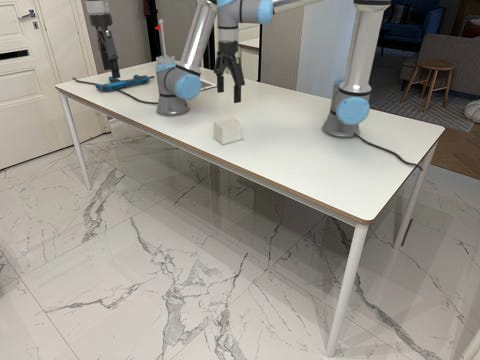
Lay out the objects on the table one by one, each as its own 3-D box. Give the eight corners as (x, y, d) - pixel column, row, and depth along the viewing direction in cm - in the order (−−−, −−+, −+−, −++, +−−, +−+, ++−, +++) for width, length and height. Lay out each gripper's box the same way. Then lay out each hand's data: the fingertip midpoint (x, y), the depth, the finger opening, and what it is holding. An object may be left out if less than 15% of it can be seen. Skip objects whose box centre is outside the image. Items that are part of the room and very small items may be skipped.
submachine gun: (140, 69, 223) (158, 75, 206) (141, 75, 225) (159, 81, 208) (87, 79, 204) (103, 87, 188) (89, 85, 206) (105, 94, 190)
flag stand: (173, 62, 249) (168, 17, 233) (177, 66, 239) (172, 20, 223) (155, 64, 245) (149, 18, 229) (158, 68, 235) (152, 21, 219)
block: (241, 139, 143) (241, 123, 139) (222, 144, 139) (222, 128, 135) (232, 132, 148) (232, 117, 144) (214, 137, 144) (213, 121, 140)
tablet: (161, 80, 212) (161, 79, 212) (189, 74, 223) (188, 73, 223) (190, 93, 191) (190, 92, 191) (218, 85, 203) (218, 85, 202)
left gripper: (119, 16, 113) (131, 80, 125) (102, 9, 131) (113, 65, 142) (96, 18, 110) (110, 83, 121) (81, 10, 128) (95, 67, 139)
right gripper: (255, 45, 116) (253, 105, 127) (220, 33, 134) (222, 86, 145) (236, 48, 113) (236, 108, 124) (203, 35, 131) (206, 89, 142)
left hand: (112, 73), depth 132 cm, fingers open, 13 cm apart
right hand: (228, 97), depth 135 cm, fingers open, 13 cm apart
